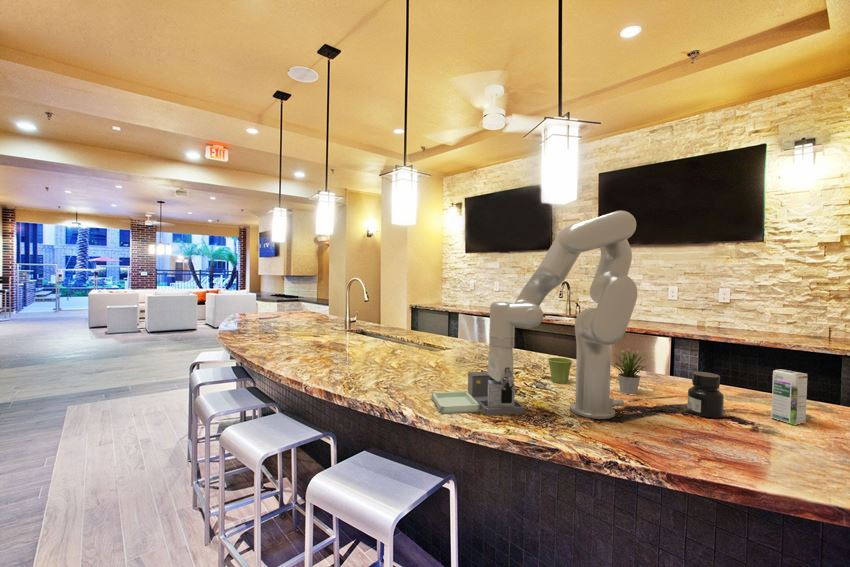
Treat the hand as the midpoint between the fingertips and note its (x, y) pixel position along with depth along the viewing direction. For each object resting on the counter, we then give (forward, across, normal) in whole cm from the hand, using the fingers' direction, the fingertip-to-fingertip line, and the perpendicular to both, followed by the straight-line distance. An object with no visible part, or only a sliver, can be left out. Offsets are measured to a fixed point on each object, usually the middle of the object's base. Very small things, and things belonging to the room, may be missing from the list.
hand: (500, 397), depth 118 cm
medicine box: (+4, 0, 0) cm, 4 cm away
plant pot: (+4, -27, +35) cm, 45 cm away
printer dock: (+4, -6, 0) cm, 7 cm away
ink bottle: (+4, +12, +61) cm, 62 cm away
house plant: (+4, -9, +53) cm, 54 cm away
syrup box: (+3, +21, +80) cm, 83 cm away
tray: (+4, -6, -13) cm, 15 cm away
